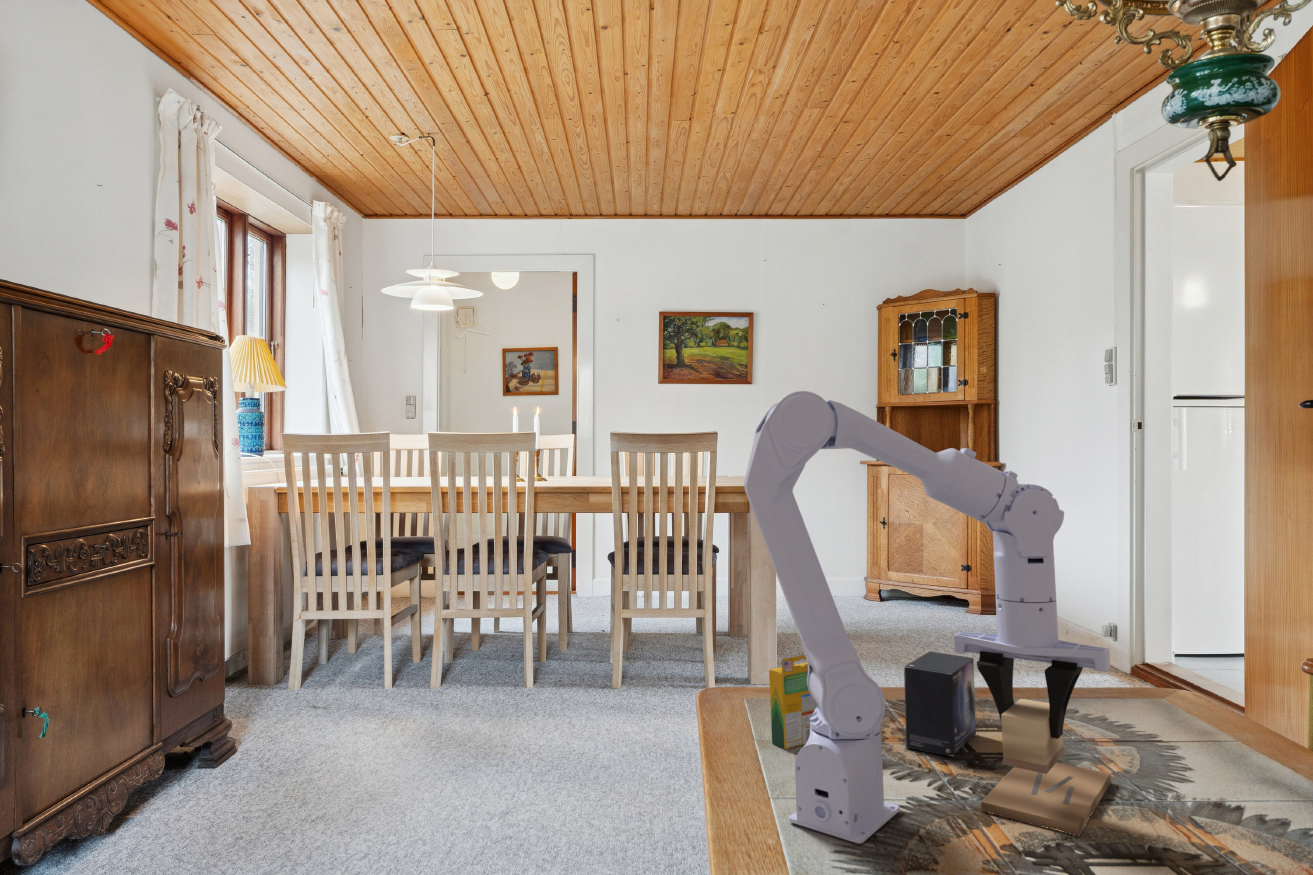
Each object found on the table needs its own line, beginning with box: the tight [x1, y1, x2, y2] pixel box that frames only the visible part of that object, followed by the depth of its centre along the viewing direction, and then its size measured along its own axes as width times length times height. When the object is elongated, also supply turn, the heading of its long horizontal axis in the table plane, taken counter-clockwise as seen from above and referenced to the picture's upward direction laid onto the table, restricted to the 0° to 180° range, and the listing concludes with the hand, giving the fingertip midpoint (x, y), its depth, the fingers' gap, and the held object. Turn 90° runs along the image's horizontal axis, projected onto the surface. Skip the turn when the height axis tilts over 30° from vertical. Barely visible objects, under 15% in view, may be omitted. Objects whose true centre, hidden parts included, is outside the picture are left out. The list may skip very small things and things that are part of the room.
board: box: [980, 761, 1112, 837], centre depth 81 cm, size 16×9×1 cm, turn 139°
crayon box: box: [768, 654, 818, 751], centre depth 100 cm, size 7×3×12 cm, turn 120°
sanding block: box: [1000, 698, 1065, 774], centre depth 78 cm, size 7×4×5 cm, turn 139°
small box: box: [903, 650, 977, 756], centre depth 99 cm, size 11×6×10 cm, turn 143°
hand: (1032, 730), depth 78 cm, fingers closed on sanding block, 4 cm apart
